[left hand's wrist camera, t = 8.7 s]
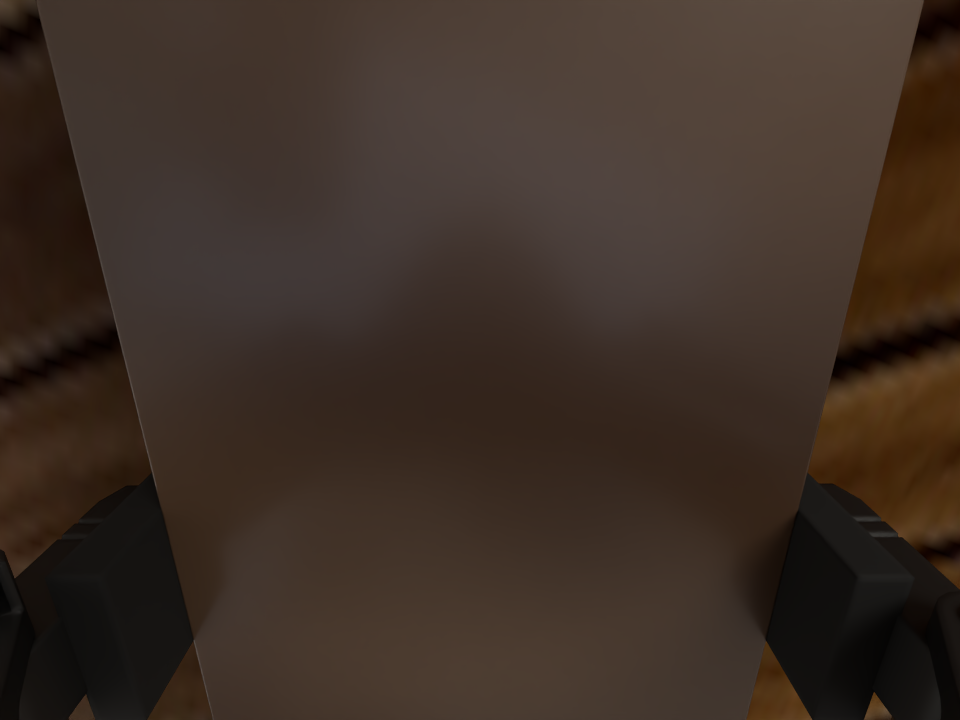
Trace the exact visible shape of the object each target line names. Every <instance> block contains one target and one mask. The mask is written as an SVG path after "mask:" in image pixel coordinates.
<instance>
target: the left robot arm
mask: <svg viewBox="0 0 960 720" xmlns="http://www.w3.org/2000/svg"><path fill="white" fill-rule="evenodd" d="M766 641H767V643H768V644H769V646H770V648H771V650H772V651H773V653H774V655H775V656H776V658H777V660H778V662H779V663H780V665H781V667H782V668H783V670H784V672H785V674H786V675H787V677H788V679H789V680H790V682H791V684H792V685H793V687H794V689H795V691H796V692H797V694H798V696H799V697H800V699H801V701H802V703H803V704H804V706H805V708H806V709H807V711H808V713H809V714H810V716H811V718H812V720H864V718H865V715H866V712H867V709H868V707H869V704H870V701H871V698H872V695H873V693H874V692H875V693H876V695H877V696H878V697H879V699H880V700H881V702H882V703H883V704H884V706H885V707H886V708H887V710H888V711H889V713H890V714H891V715H892V718H891V720H960V590H959V589H958V588H957V587H956V586H955V585H954V584H953V583H952V582H951V581H949V580H948V579H947V578H946V577H945V576H944V575H943V574H942V573H941V572H940V571H938V570H937V569H936V568H935V567H934V566H933V565H932V564H931V563H930V562H929V561H927V560H926V559H925V558H924V557H923V556H922V555H921V554H920V553H919V552H918V551H917V550H915V549H914V548H913V547H912V546H911V545H910V544H909V543H908V542H907V541H906V540H904V539H903V538H902V537H898V533H897V532H896V531H895V530H894V529H892V528H891V527H890V526H889V525H888V524H887V523H886V522H882V521H881V518H880V517H879V516H878V515H877V514H876V513H875V512H874V511H873V510H872V509H871V508H869V507H868V506H867V505H866V504H865V503H864V502H863V501H862V500H861V499H859V498H857V497H855V496H854V495H852V494H850V493H848V492H847V491H845V490H843V489H841V488H839V487H838V486H836V485H834V484H818V483H817V482H816V481H815V480H814V479H813V478H812V477H811V476H810V475H809V474H808V473H807V476H806V480H805V484H804V488H803V492H802V496H801V500H800V504H799V508H798V512H797V516H796V520H795V524H794V528H793V532H792V536H791V540H790V544H789V548H788V552H787V557H786V561H785V565H784V569H783V573H782V577H781V581H780V585H779V589H778V593H777V597H776V601H775V605H774V609H773V613H772V617H771V621H770V625H769V629H768V633H767V637H766ZM192 642H193V636H192V632H191V628H190V624H189V620H188V616H187V612H186V608H185V604H184V600H183V596H182V592H181V588H180V583H179V579H178V575H177V571H176V567H175V563H174V559H173V555H172V551H171V547H170V543H169V539H168V535H167V531H166V527H165V523H164V519H163V515H162V511H161V506H160V502H159V498H158V494H157V490H156V486H155V482H154V478H153V474H152V473H151V474H150V475H149V476H148V477H147V478H146V479H145V480H144V481H143V482H142V483H141V484H140V485H139V486H125V487H124V488H122V489H120V490H118V491H117V492H115V493H113V494H111V495H110V496H108V497H106V498H104V499H103V500H101V501H99V502H98V503H97V504H96V505H95V506H94V507H93V508H92V509H90V510H89V511H88V512H87V513H86V514H85V515H84V516H83V517H82V518H81V519H80V520H79V523H78V524H74V525H73V526H72V527H71V528H70V529H69V530H68V531H66V532H65V533H64V534H63V535H62V539H61V540H57V541H56V542H55V543H53V544H52V545H51V546H50V547H49V548H48V549H47V550H46V551H45V552H44V553H43V554H41V555H40V556H39V557H38V558H37V559H36V560H35V561H34V562H33V563H32V564H31V565H29V566H28V567H27V568H26V569H25V570H24V571H23V572H22V573H21V574H20V575H19V576H17V577H16V578H14V576H13V573H12V570H11V568H10V565H9V563H8V560H7V558H6V555H5V552H4V551H2V550H0V720H69V716H70V715H71V713H72V712H73V711H74V709H75V708H76V707H77V705H78V704H79V702H80V701H81V700H82V698H83V697H84V696H85V694H86V695H87V698H88V700H89V703H90V706H91V709H92V711H93V714H94V717H95V720H147V719H148V717H149V715H150V713H151V712H152V710H153V708H154V707H155V705H156V703H157V702H158V700H159V698H160V696H161V695H162V693H163V691H164V690H165V688H166V686H167V684H168V683H169V681H170V679H171V678H172V676H173V674H174V673H175V671H176V669H177V667H178V666H179V664H180V662H181V661H182V659H183V657H184V655H185V654H186V652H187V650H188V649H189V647H190V645H191V644H192Z"/></svg>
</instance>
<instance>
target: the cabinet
mask: <svg viewBox="0 0 960 720" xmlns="http://www.w3.org/2000/svg"><path fill="white" fill-rule="evenodd" d="M923 2H924V0H36V4H37V8H38V12H39V16H40V20H41V24H42V29H43V33H44V37H45V41H46V45H47V49H48V53H49V57H50V61H51V65H52V69H53V73H54V77H55V81H56V85H57V89H58V93H59V97H60V101H61V105H62V110H63V114H64V118H65V122H66V126H67V130H68V134H69V138H70V142H71V146H72V150H73V154H74V158H75V162H76V166H77V170H78V174H79V178H80V182H81V186H82V191H83V195H84V199H85V203H86V207H87V211H88V215H89V219H90V223H91V227H92V231H93V235H94V239H95V243H96V247H97V251H98V255H99V259H100V263H101V267H102V272H103V276H104V280H105V284H106V288H107V292H108V296H109V300H110V304H111V308H112V312H113V316H114V320H115V324H116V328H117V332H118V336H119V340H120V344H121V349H122V353H123V357H124V361H125V365H126V369H127V373H128V377H129V381H130V385H131V389H132V393H133V397H134V401H135V405H136V409H137V413H138V417H139V421H140V425H141V430H142V434H143V438H144V442H145V446H146V450H147V454H148V458H149V462H150V466H151V470H152V474H153V478H154V482H155V486H156V490H157V494H158V498H159V502H160V506H161V511H162V515H163V519H164V523H165V527H166V531H167V535H168V539H169V543H170V547H171V551H172V555H173V559H174V563H175V567H176V571H177V575H178V579H179V583H180V588H181V592H182V596H183V600H184V604H185V608H186V612H187V616H188V620H189V624H190V628H191V632H192V636H193V640H194V644H195V648H196V652H197V656H198V660H199V664H200V669H201V673H202V677H203V681H204V685H205V689H206V693H207V697H208V701H209V705H210V709H211V713H212V717H213V720H746V718H747V714H748V710H749V706H750V702H751V698H752V694H753V690H754V686H755V682H756V678H757V674H758V670H759V666H760V662H761V658H762V654H763V650H764V646H765V642H766V637H767V633H768V629H769V625H770V621H771V617H772V613H773V609H774V605H775V601H776V597H777V593H778V589H779V585H780V581H781V577H782V573H783V569H784V565H785V561H786V557H787V552H788V548H789V544H790V540H791V536H792V532H793V528H794V524H795V520H796V516H797V512H798V508H799V504H800V500H801V496H802V492H803V488H804V484H805V480H806V476H807V472H808V468H809V463H810V459H811V455H812V451H813V447H814V443H815V439H816V435H817V431H818V427H819V423H820V419H821V415H822V411H823V407H824V403H825V399H826V395H827V391H828V387H829V383H830V378H831V374H832V370H833V366H834V362H835V358H836V354H837V350H838V346H839V342H840V338H841V334H842V330H843V326H844V322H845V318H846V314H847V310H848V306H849V302H850V298H851V293H852V289H853V285H854V281H855V277H856V273H857V269H858V265H859V261H860V257H861V253H862V249H863V245H864V241H865V237H866V233H867V229H868V225H869V221H870V217H871V213H872V209H873V204H874V200H875V196H876V192H877V188H878V184H879V180H880V176H881V172H882V168H883V164H884V160H885V156H886V152H887V148H888V144H889V140H890V136H891V132H892V128H893V124H894V119H895V115H896V111H897V107H898V103H899V99H900V95H901V91H902V87H903V83H904V79H905V75H906V71H907V67H908V63H909V59H910V55H911V51H912V47H913V43H914V39H915V34H916V30H917V26H918V22H919V18H920V14H921V10H922V6H923Z"/></svg>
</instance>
